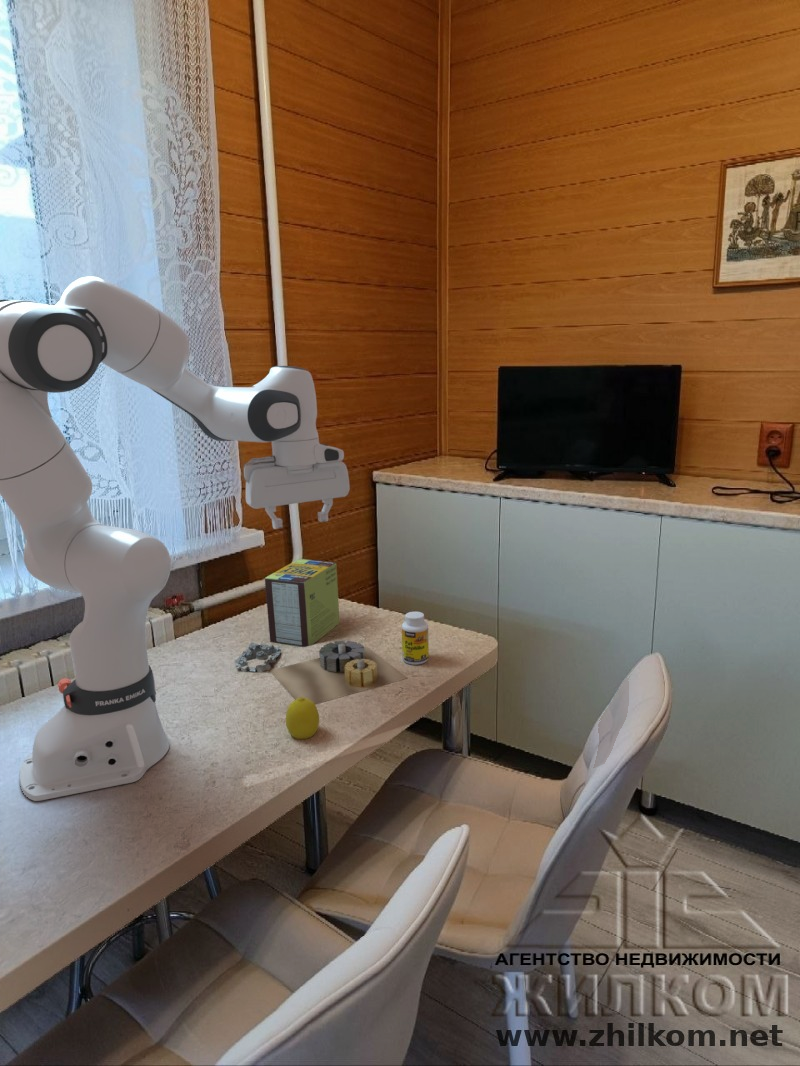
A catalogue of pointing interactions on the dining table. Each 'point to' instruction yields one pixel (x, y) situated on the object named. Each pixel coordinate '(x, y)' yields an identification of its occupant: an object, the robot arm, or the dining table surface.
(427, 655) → the supplement bottle
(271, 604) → the protein box
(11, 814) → the dining table surface
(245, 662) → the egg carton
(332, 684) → the gear board
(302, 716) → the lemon
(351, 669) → the brass gear
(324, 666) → the grey gear
